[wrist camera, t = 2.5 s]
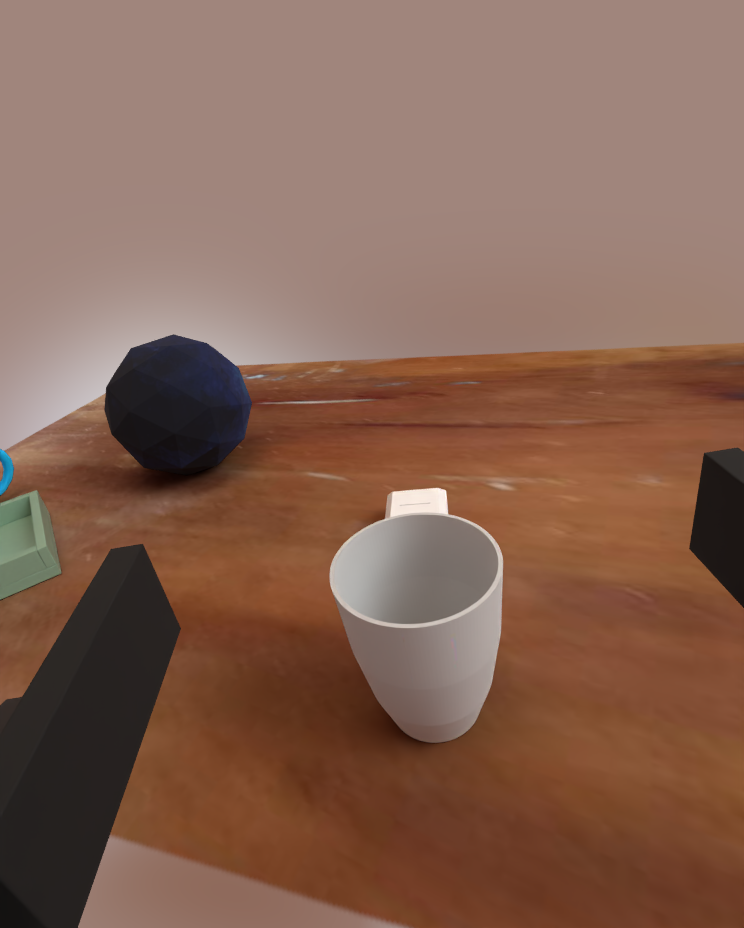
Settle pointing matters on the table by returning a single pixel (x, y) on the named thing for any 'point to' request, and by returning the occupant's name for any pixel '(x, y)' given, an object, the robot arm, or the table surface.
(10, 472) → the mug
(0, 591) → the tray
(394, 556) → the cup
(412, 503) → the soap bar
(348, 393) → the table surface
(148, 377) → the decorative orb
